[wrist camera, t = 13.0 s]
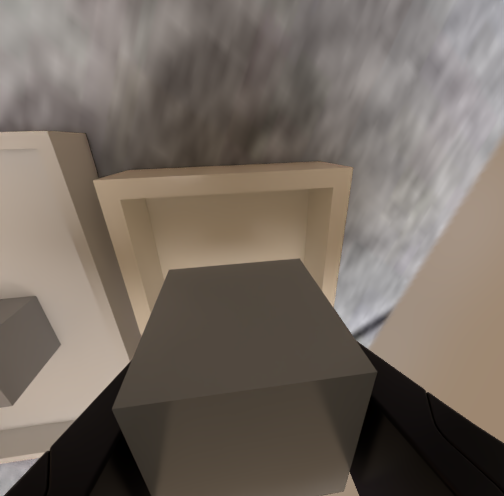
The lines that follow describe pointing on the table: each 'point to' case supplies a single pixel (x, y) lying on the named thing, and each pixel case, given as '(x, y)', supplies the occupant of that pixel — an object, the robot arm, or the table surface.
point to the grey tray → (60, 283)
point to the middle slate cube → (23, 345)
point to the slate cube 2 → (244, 385)
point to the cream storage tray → (224, 221)
